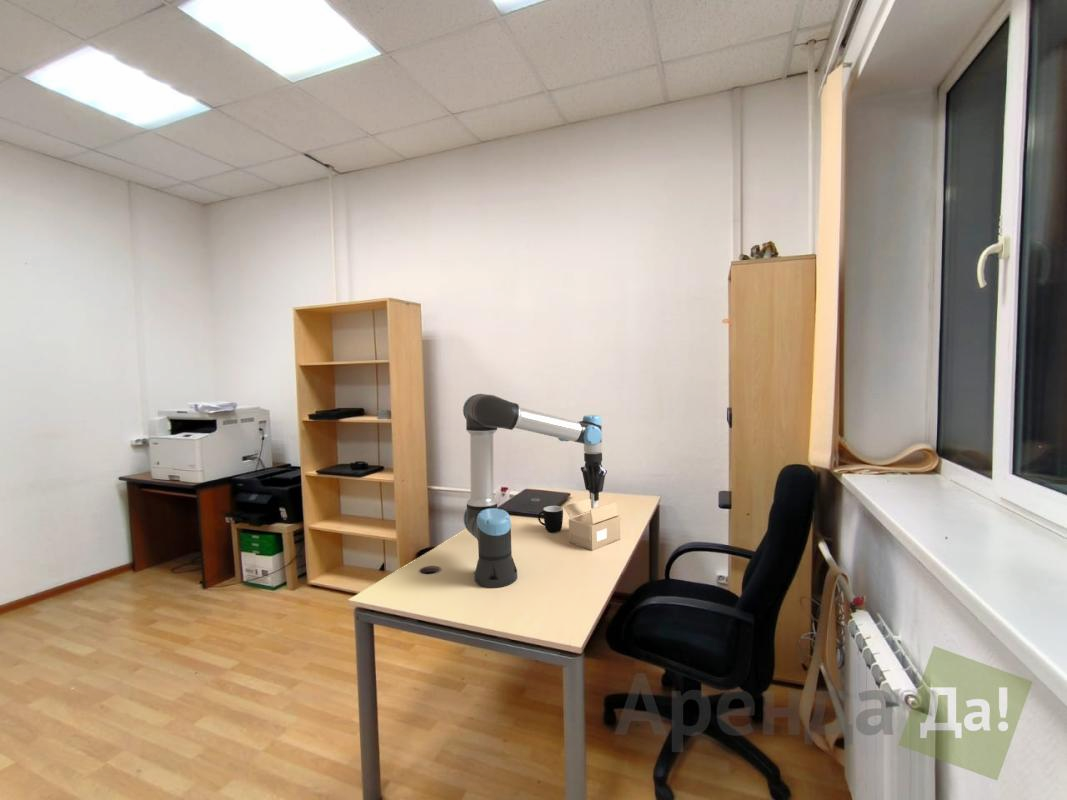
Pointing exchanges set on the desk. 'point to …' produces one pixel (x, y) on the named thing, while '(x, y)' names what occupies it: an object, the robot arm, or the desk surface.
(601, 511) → the right flap
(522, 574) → the desk surface
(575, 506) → the left flap
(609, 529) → the carton
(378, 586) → the desk surface
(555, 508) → the mug
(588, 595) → the desk surface
